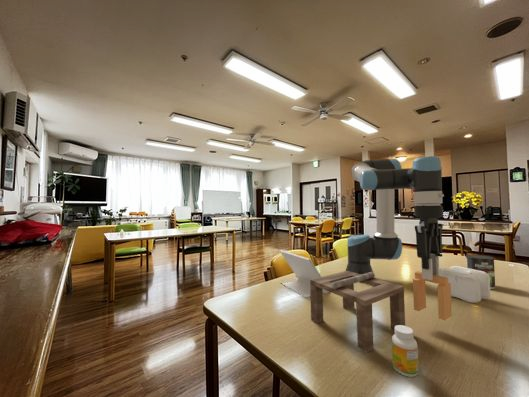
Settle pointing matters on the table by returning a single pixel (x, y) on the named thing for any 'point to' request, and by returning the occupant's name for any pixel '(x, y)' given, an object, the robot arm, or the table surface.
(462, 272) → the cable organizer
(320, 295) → the cutout shelf
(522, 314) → the table surface
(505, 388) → the table surface
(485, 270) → the coffee can
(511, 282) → the table surface
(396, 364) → the supplement bottle
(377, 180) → the robot arm
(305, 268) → the tablet stand
